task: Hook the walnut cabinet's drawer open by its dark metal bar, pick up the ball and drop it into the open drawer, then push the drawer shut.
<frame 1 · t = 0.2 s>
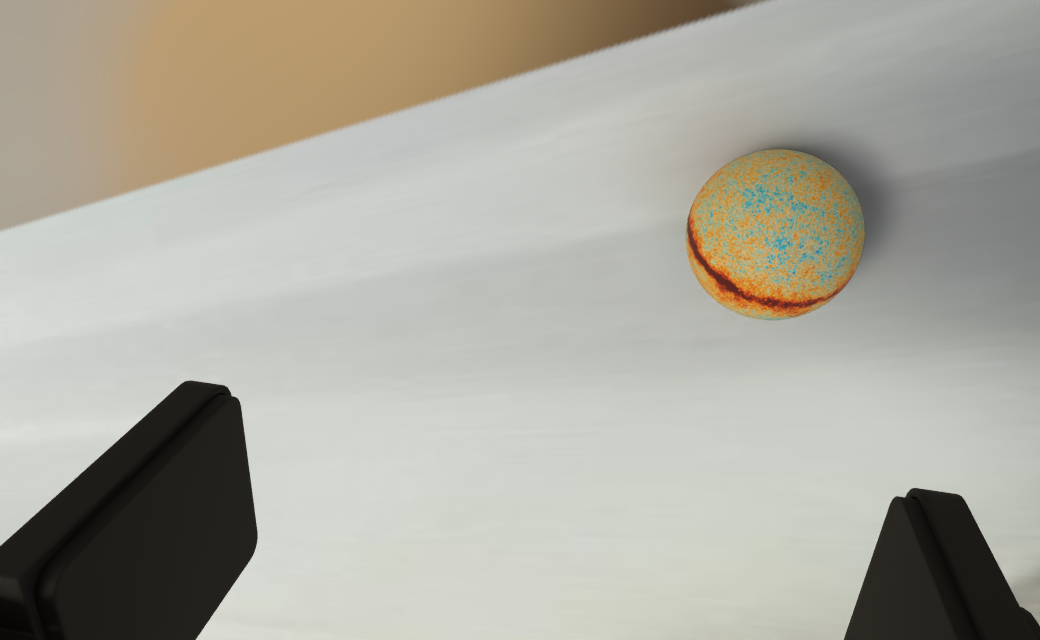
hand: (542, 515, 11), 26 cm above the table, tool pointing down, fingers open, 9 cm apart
ball: (763, 208, 35), on the table
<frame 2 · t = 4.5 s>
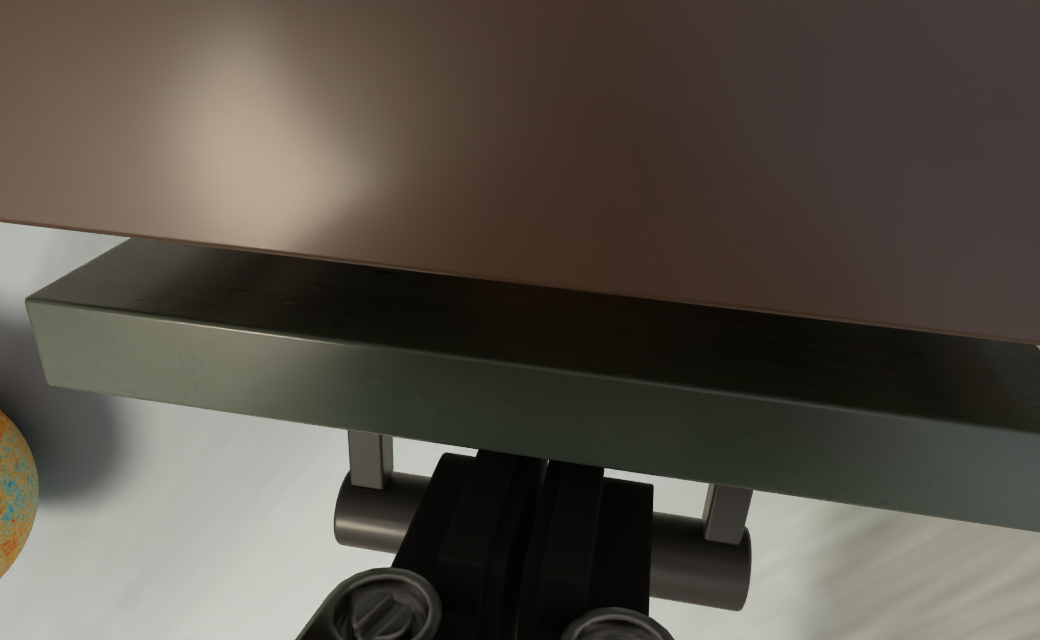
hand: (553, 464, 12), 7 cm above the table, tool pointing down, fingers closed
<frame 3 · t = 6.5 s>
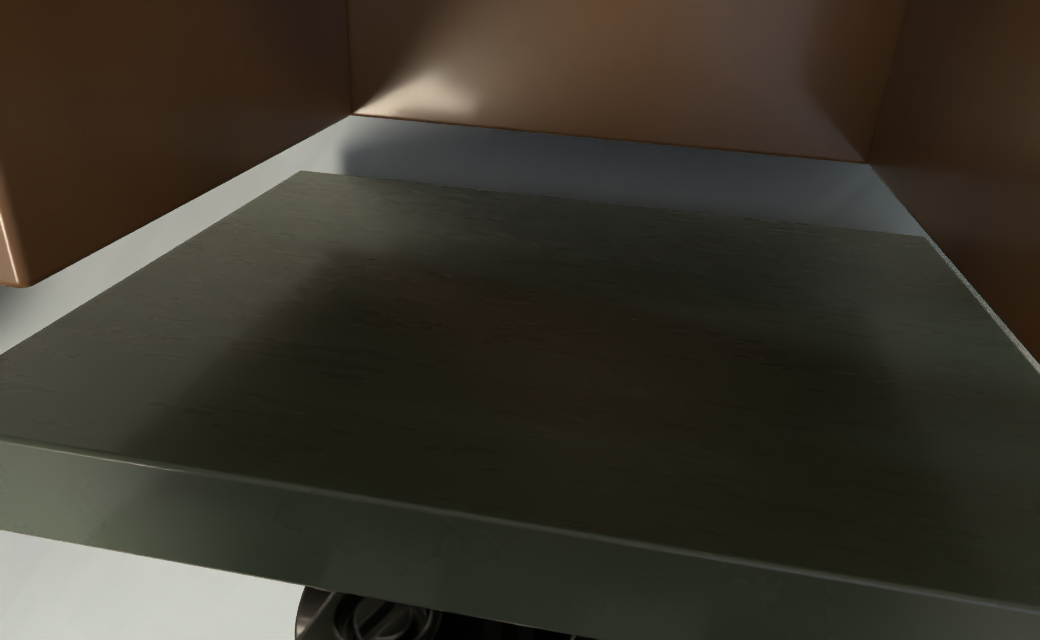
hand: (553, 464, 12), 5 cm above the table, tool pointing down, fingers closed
drawer: (590, 7, 9), point 5 cm above the table, slide at 9.0 cm
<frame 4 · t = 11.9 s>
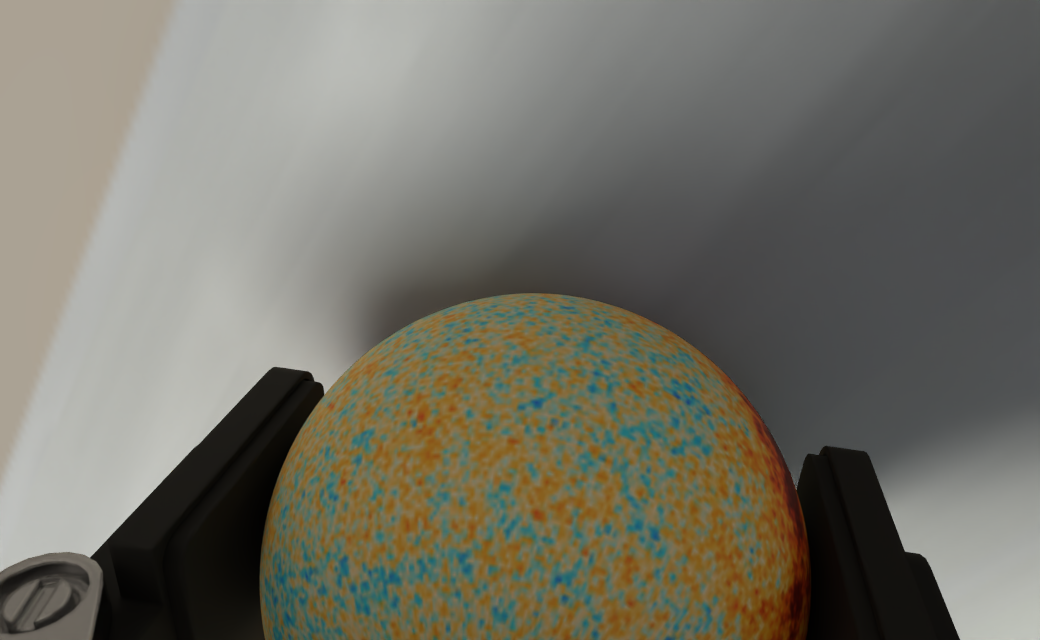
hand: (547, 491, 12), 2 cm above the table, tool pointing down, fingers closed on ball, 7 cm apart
ball: (567, 406, 14), on the table, touching gripper
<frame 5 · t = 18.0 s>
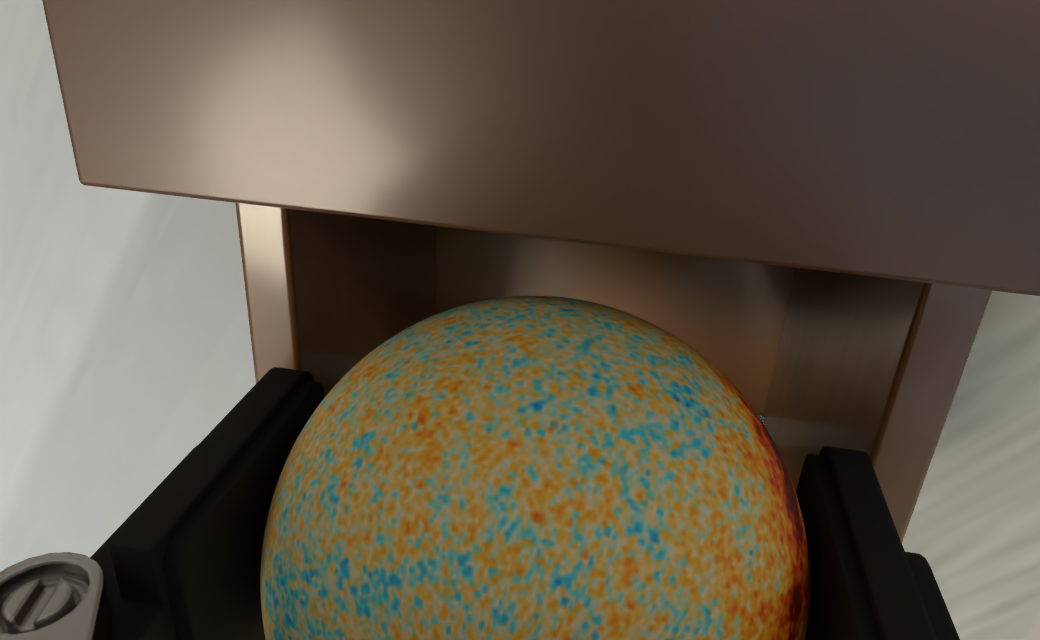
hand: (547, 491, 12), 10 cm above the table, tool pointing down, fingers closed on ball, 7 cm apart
ball: (567, 408, 14), point 8 cm above the table, touching gripper
drawer: (588, 381, 16), point 5 cm above the table, slide at 8.6 cm
when the fingers open (11 cm above the table, at t = 25.8 s): ball drops 6 cm, resting on drawer.
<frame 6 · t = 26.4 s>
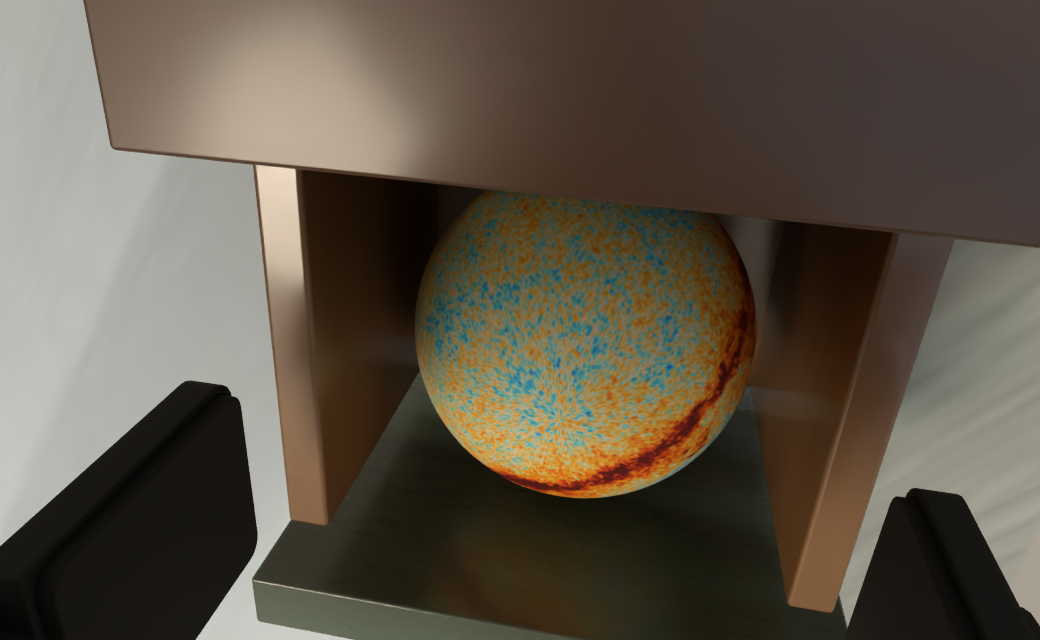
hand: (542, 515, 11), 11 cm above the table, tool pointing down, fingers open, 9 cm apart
ball: (598, 262, 19), point 2 cm above the table, touching drawer
drawer: (583, 349, 17), point 5 cm above the table, slide at 8.7 cm, touching ball
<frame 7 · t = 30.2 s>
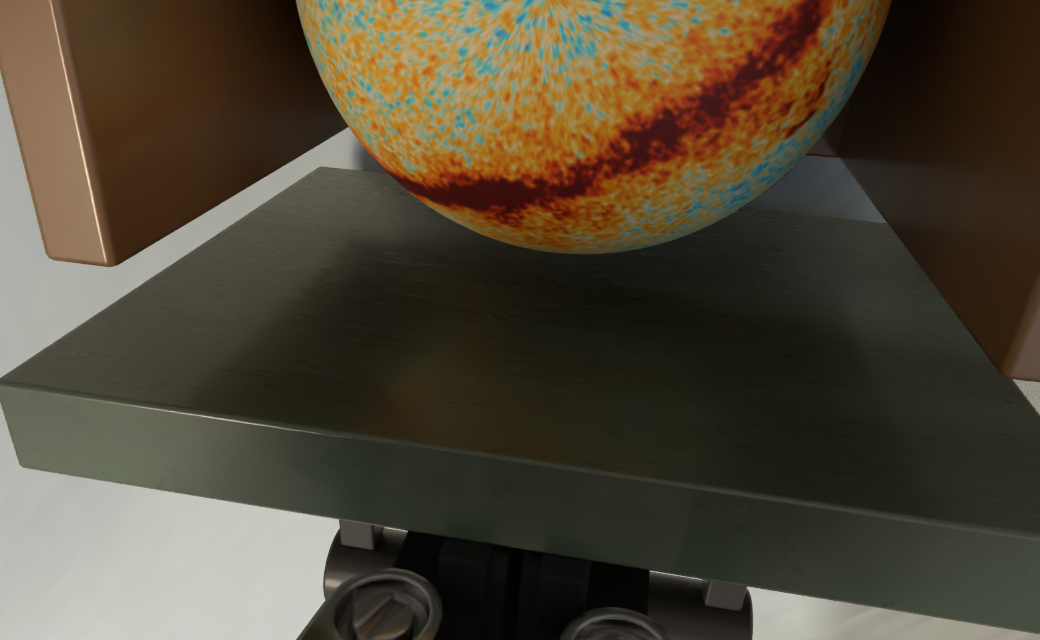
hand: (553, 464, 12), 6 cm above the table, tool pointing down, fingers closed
drawer: (587, 22, 10), point 5 cm above the table, slide at 8.2 cm, touching ball
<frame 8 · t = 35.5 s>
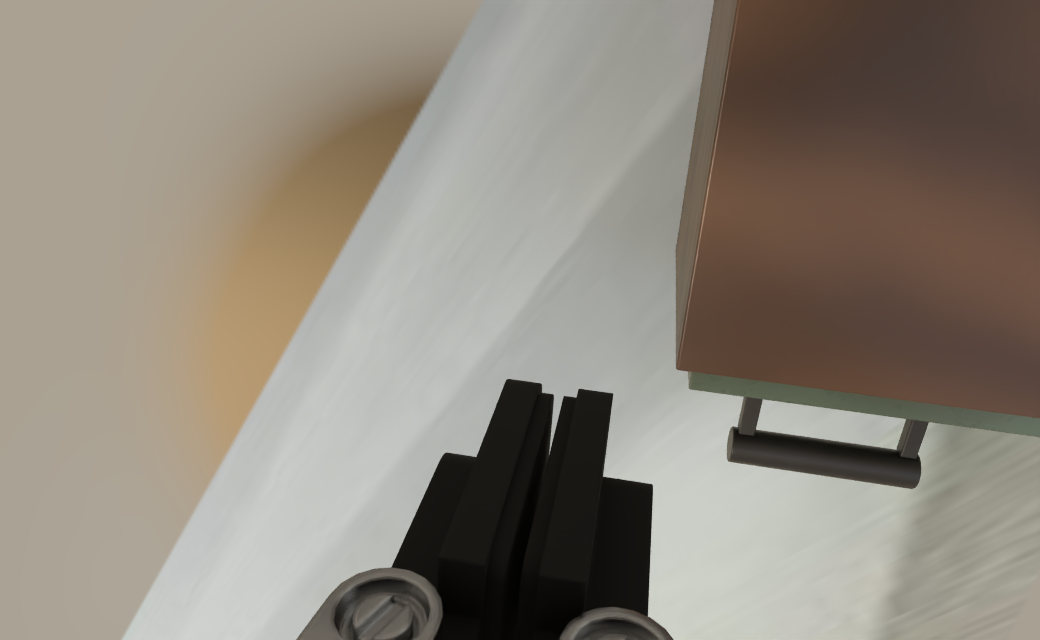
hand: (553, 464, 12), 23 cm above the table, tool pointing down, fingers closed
drawer: (874, 230, 27), point 5 cm above the table, slide at 0.0 cm, touching ball
cabinet: (871, 80, 30), on the table
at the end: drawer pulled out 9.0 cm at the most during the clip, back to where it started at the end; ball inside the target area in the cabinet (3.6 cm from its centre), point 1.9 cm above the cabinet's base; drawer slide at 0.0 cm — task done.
